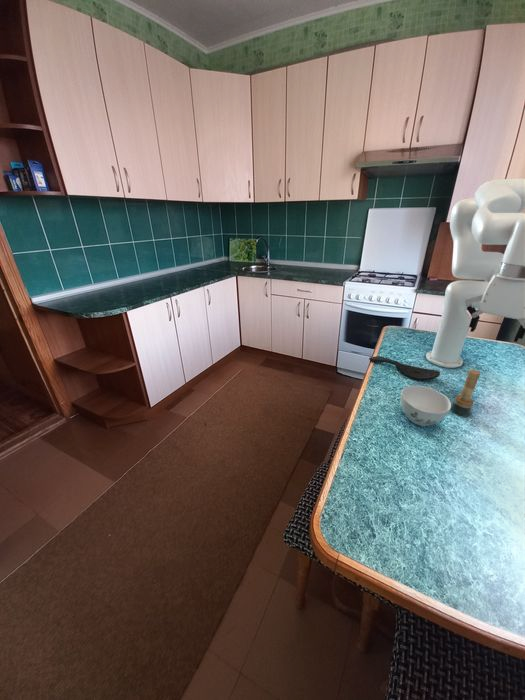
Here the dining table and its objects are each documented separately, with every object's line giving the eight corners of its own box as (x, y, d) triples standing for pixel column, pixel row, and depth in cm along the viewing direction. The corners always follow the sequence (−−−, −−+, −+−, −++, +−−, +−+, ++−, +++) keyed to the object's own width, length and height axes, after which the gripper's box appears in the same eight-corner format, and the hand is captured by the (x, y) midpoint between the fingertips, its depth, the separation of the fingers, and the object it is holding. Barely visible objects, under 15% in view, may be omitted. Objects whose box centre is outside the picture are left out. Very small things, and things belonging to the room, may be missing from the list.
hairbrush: (374, 349, 118) (443, 366, 103) (373, 357, 120) (441, 375, 104) (365, 357, 113) (437, 376, 97) (364, 365, 115) (435, 385, 99)
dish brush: (450, 404, 90) (464, 366, 84) (467, 408, 89) (483, 369, 82) (452, 413, 87) (466, 374, 80) (470, 417, 85) (486, 377, 78)
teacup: (439, 441, 77) (447, 418, 73) (390, 422, 84) (396, 400, 80) (448, 412, 87) (456, 390, 84) (404, 397, 94) (409, 376, 91)
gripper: (567, 273, 67) (536, 340, 75) (479, 264, 78) (460, 323, 86) (565, 279, 63) (533, 349, 70) (472, 268, 74) (453, 330, 81)
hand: (493, 335), depth 78 cm, fingers open, 9 cm apart
